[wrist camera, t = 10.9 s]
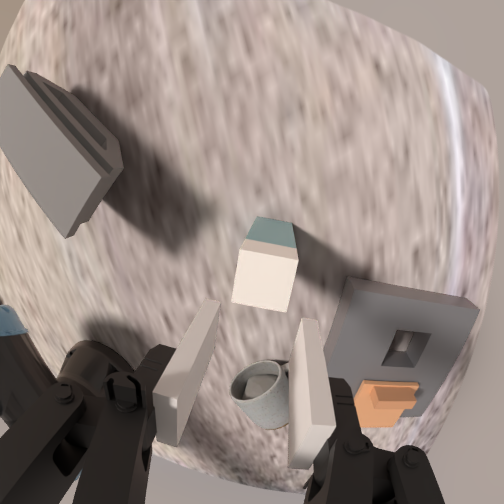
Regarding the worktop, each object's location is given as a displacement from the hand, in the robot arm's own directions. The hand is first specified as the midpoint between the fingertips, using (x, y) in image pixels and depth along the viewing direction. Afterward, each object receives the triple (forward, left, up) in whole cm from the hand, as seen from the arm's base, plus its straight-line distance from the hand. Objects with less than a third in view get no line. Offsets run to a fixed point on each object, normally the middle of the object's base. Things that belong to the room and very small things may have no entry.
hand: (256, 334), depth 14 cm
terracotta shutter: (-20, -20, -16) cm, 32 cm away
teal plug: (0, 0, -21) cm, 21 cm away
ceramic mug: (-20, -5, -21) cm, 29 cm away
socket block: (-13, -20, -21) cm, 31 cm away
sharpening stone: (+9, +28, -21) cm, 36 cm away
